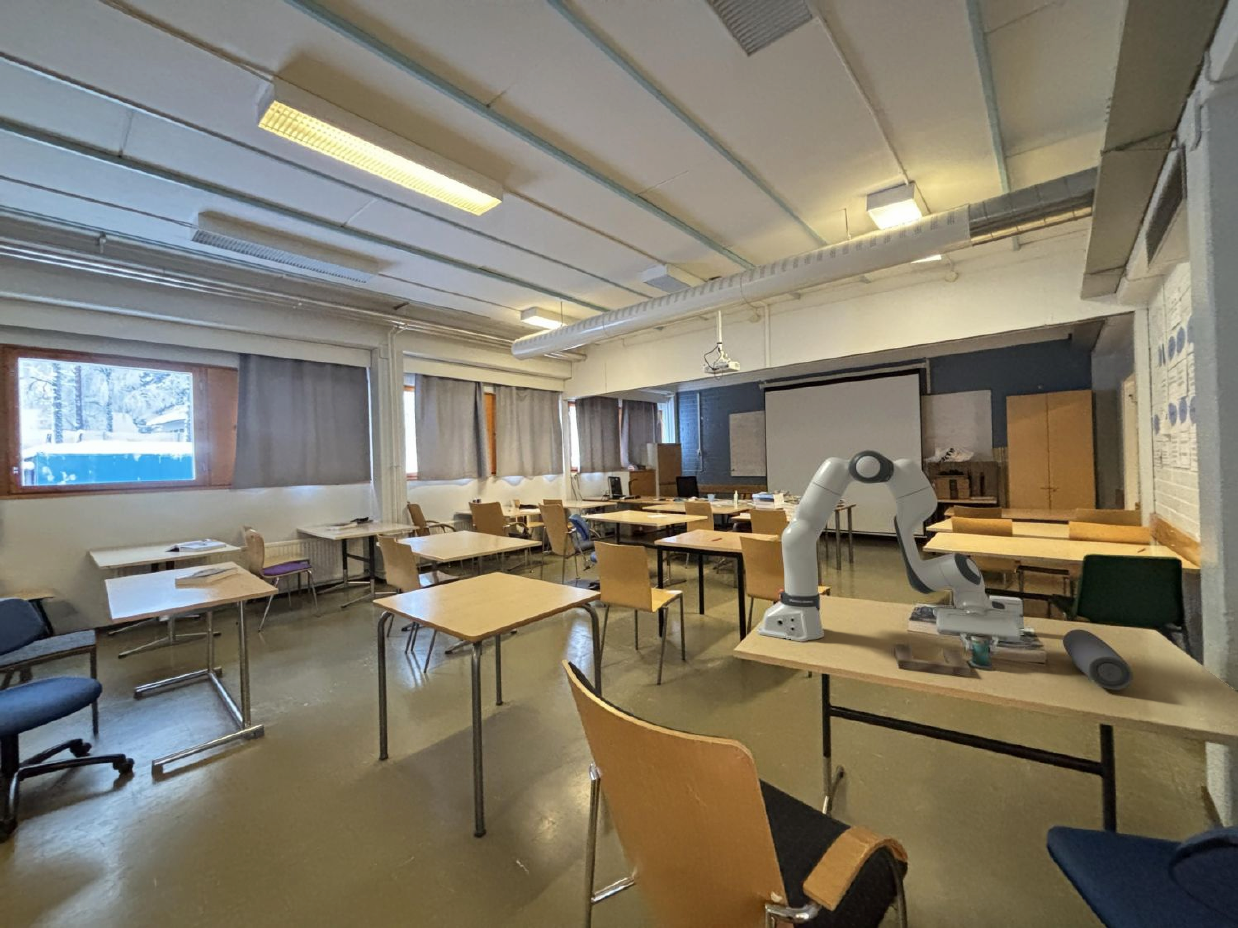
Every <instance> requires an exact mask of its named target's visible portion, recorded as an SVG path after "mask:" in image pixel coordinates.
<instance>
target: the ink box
mask: <svg viewBox="0 0 1238 928" xmlns="http://www.w3.org/2000/svg"><path fill="white" fill-rule="evenodd" d="M988 598H989V599H992V600H995V601H998V602H1001V603H1005V604H1007V605H1009V608H1010V612H1009V613H1010V614H1012V615H1013V616H1014V617H1015V619H1016V621H1017V623H1018V626H1019V628H1020V629H1024V630H1025V628H1024V627H1025V626H1024V625H1025V622H1024V605H1023V604H1024V603H1023V600H1022V599H1021V598H1019V597H1012V596H1011V597H1010V596H1000V595H989V597H988Z"/></svg>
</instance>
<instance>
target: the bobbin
mask: <svg viewBox="0 0 1238 928" xmlns="http://www.w3.org/2000/svg"><path fill="white" fill-rule="evenodd" d="M970 639H971V643H972V644H973V651H971V657H972V658H971V659H968V660H967V664H968V666H969V667H971V668H974V669H977V670H982V671H993V670H994V669H995V665H994V663H992V662H990V653H989V645H990V640H989V639H988V638H986V637H982V636H972V637H971V638H970Z"/></svg>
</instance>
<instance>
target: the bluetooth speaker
mask: <svg viewBox="0 0 1238 928" xmlns="http://www.w3.org/2000/svg"><path fill="white" fill-rule="evenodd" d="M1062 644H1063V645H1062V646H1063V648H1064V650H1065V651H1066V653H1067V654H1068V656H1069V658H1070V659H1071V660H1072V661H1073V663H1074V664H1075V665H1076V667H1077V668H1078V669H1079V670H1080V671H1081V672H1083V673H1084V674H1085V676H1087V677H1088V678H1089V680H1090V681H1092V680H1093V681H1094V683H1095V684H1097V685H1098V686H1100V687H1102V688H1104V689H1109V690H1118V691H1119V690H1124V689H1125V688H1128V687H1129V686H1130V685H1131V684H1132V682H1133V680H1134V674H1133V671H1132V669H1131V667H1130V666H1129V664H1128V662H1126V660H1124V658H1123V657H1122V656H1121V655H1120V654H1119V653H1118V652H1117V651H1115V649H1113V647H1112V646H1110V645H1109V644H1108V643H1106V642H1105V641H1104V640H1103V639H1102V638H1100V637H1099V636H1098V635H1095V634H1094V633H1092V632H1091V631H1088V630H1085V629H1078V628H1077V629H1072V630H1070V631H1067V633H1066V634H1065V635H1064V636H1063V640H1062ZM1093 681H1092V682H1093Z"/></svg>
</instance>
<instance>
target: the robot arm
mask: <svg viewBox="0 0 1238 928" xmlns="http://www.w3.org/2000/svg"><path fill="white" fill-rule="evenodd" d="M855 481H857V482H860V483H862V484H868V485H871V484H879V483H883V484H885V485H886V486H887V487H888V489H889V490H890V493H891V494H892V497H893V498H894V501H895V503H896V507H897V509H896V511H897V512H896V514H895V516H894V517H893V526H894V529H895V530H894V531H895V534H896V535H895V536H896V538H897V541H898V546H899V548H900V551H901V555H902V559H903V563H904V566H905V571H906V577H907V581H908V583H909V585H910V587H911V588H912V590H914V591H917V592H918V593H921V594H923V595H929V594H930V595H931V594H932V593H936V592H938V591H942V590H947V589H948V590H949V589H951V591H952V592H953V595H952V598H953V600H952V601H953V604H954V605H943V604H938V605H937V606H935V607H933V608H932V614H933V616H934V617H935V618H936V621H935V622H936V623H935V624H936V626H935V627H936V633H938V634H939V635H941V636H948V637H959V641H960V642H961V643H962V644H963V645H964V646H965V649H966V651H967V652H972V651H973V644H972V642H969V640H967V638H968V639H969V638H970V639H972V638H971V637H972V636H982V637H986V638H988V639H989V641H990V642H991V643H992V644H989V654H995V655H996V654H997V645H998V643H999V642H1009V643H1017V642H1019V641H1020V639H1021V638H1022V635H1021V631H1020V628H1019V626H1018V623H1017V621H1016V619H1015V617H1014V616H1013V615H1012V614H1010V613H1009V612H1010V608H1009V605H1007V604H1005V603H1001V602H998V601H995V600H992V599H989V597H988V596H987V593H986V592H985V589H986V585H985V581H984V577H983V574H982V573H981V570H980V568H979V566H978V564H977V562H976V561H975V560H974V559H972V558H970V557H969V556H967V555H965V554H963V553H960V552H955V553H954V552H953V553H949V554H945V555H940V556H938V557H933V558H931V559H925V560H923V559H921V557H920V553H919V551H918V547H917V544H916V543H917V542H916V540H915V535H914V534H915V531H916V529H917V527H919V526H920V525H921V524H922V523H924V522H925V521H926V520H928V518H930V517H931V516H932V515H933V514H934V512H936V509H937V508H938V498H937V495H936V494H937V493H936V492H935V490H934V488H933V486H932V485H931V483H930V481H929V479H928V478H927V476H926V475H925V473H924V471H923V470H922V469H921V467H920V466H919V465H918V463H916V461H915V460H912V459H910V458H900V459H896V460H893V461H892V460H891V459H889V458H887V457H886V456H884V455H883V454H882V453H880V452H878V451H876V450H873V449H866V450H862V451H859V452H858V453H856V454H855V455H854V456H853V457H852V458H850V459H847V460H846V459H843V458H840V457H836V456H833V457H832V456H831V457H828V458H827V459H825V460H824V462H822V464H821V465H820V466H819V468H818V469H817V470H816V472H815V474H814V475H813V476H812V478H811V480H810V482H809V484H808V485H807V488H806V489H805V491H804V493H803V495H802V497H801V499H800V502H799V503H798V506H797V507H796V510H795V511H794V514H793V515H792V517H791V519H790V521H789V522H788V524H787V526H786V527H785V529H784V530H783V531H782V534H781V549H782V550H781V553H782V561H783V562H782V563H783V570H784V571H783V572H784V573H783V575H784V577H783V578H784V589H782V588H780V589H779V590H778V602H776V603H775V604H773V605H772V606H770V607H769V608H767V609H766V610H765V612H764V615H763V619H762V621H763V620H764V621H763V624H761V626H760V627H758V628H757V626H758V624H760V623H761V622H762V621H760V622H759V623H758V624H757V626H756V633H758V634H759V635H762V636H767V637H773V638H778V639H783V638H786V639H785V640H789V639H791V641H795V642H802V643H803V642H807V641H809V640H818V639H822V638H823V637H824V636H825V631H824V629H823V625H822V620H821V615H820V614H821V613H820V610H821V596H820V592H819V574H818V557H817V541H818V540H819V538H820V536H821V534H822V533H823V530H824V529H825V527H826V526H827V524H828V522H829V520H830V518H831V517H832V515H833V513H834V512H835V510H836V508H837V507H838V505H839V503H840V501H841V499H842V497H843V495H844V493H845V492H846V490H847V488H848V487H849V485H850V484H851V483H853V482H855Z"/></svg>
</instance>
